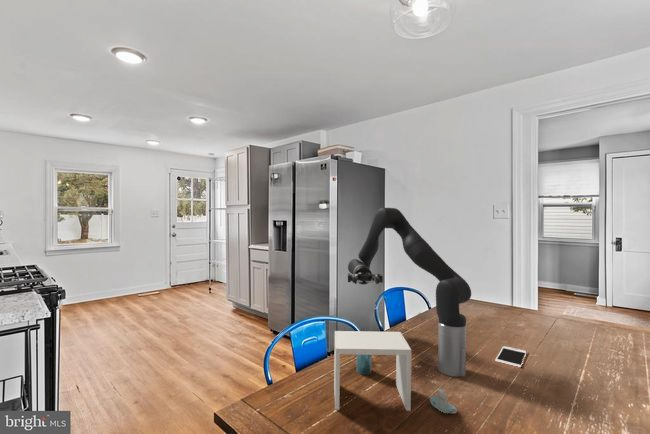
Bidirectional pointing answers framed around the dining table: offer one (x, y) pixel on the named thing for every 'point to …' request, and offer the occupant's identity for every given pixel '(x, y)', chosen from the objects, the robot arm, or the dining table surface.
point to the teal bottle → (363, 364)
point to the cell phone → (511, 356)
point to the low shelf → (375, 346)
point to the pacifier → (442, 403)
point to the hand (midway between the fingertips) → (366, 281)
